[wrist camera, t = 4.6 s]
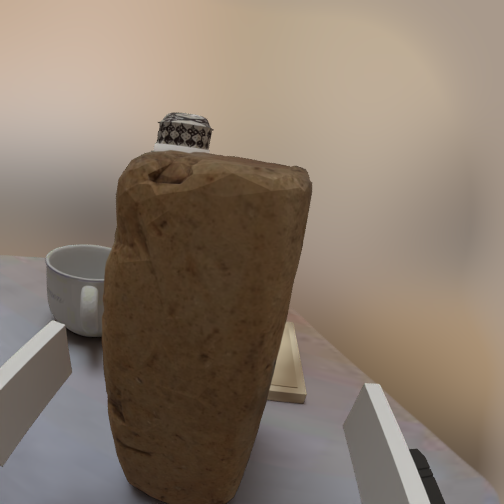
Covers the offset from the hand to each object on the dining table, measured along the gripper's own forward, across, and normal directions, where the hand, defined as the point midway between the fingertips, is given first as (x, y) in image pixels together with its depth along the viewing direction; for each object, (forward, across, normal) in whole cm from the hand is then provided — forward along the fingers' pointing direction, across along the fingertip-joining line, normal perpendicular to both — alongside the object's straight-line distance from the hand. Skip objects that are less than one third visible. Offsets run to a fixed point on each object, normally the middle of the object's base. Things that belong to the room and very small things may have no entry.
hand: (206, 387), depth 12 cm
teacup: (+17, -15, -11) cm, 25 cm away
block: (+4, 0, -11) cm, 12 cm away
